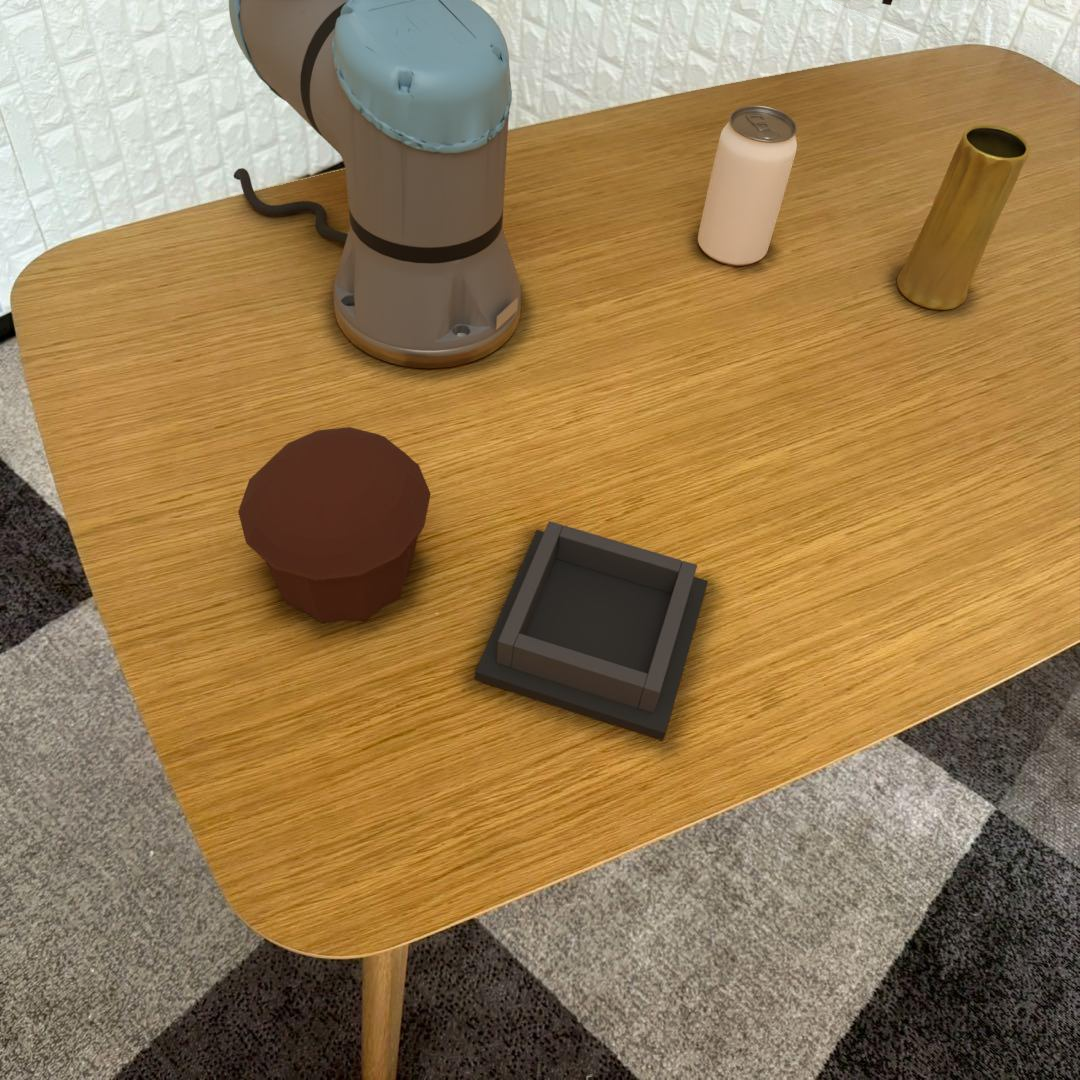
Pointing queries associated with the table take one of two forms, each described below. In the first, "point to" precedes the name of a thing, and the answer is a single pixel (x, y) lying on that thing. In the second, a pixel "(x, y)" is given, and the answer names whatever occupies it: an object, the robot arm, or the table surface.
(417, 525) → the muffin
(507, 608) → the socket pad
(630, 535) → the table surface
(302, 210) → the robot arm
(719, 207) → the can
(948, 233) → the vase
